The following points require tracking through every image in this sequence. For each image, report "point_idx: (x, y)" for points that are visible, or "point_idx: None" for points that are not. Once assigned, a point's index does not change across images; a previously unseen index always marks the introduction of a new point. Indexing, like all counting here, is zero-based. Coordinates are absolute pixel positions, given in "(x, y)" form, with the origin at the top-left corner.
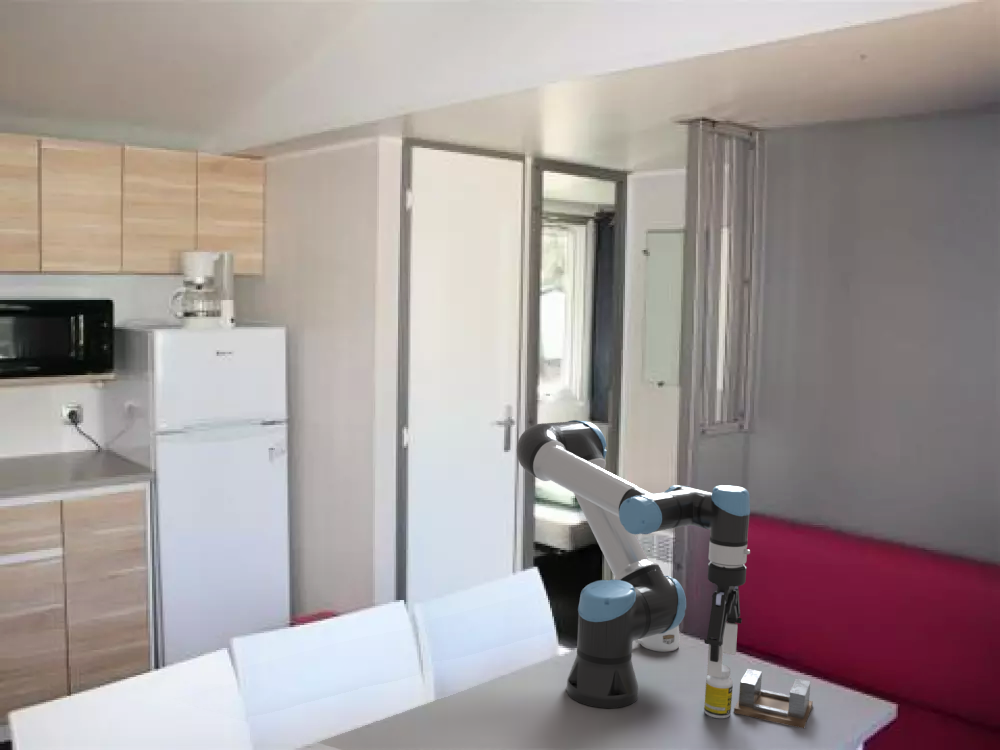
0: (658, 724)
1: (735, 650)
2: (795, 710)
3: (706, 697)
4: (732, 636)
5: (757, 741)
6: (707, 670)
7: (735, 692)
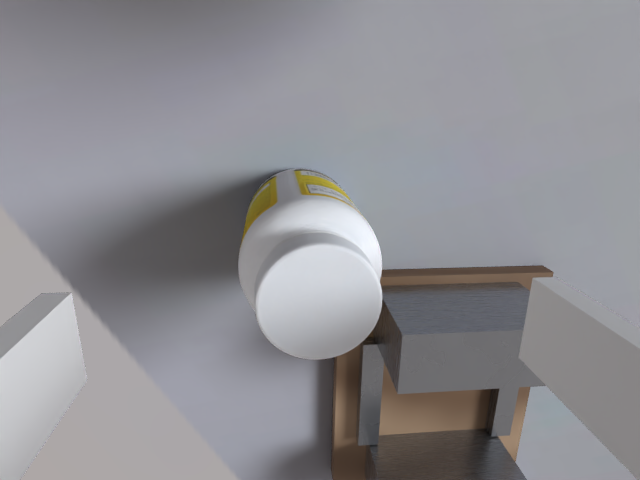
0: (40, 14)
1: (542, 376)
2: (370, 474)
3: (263, 195)
4: (621, 428)
5: (155, 383)
6: (19, 311)
7: (522, 235)
